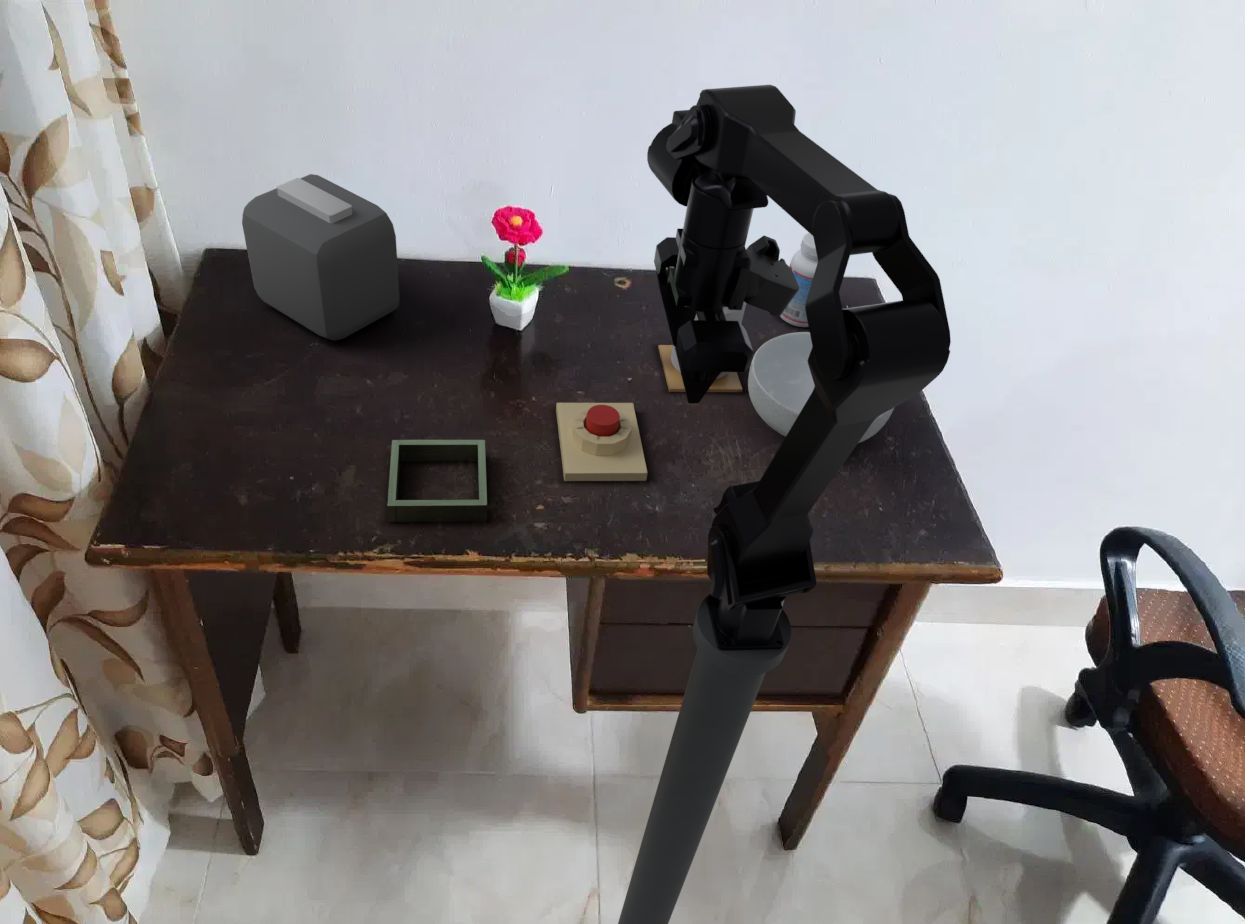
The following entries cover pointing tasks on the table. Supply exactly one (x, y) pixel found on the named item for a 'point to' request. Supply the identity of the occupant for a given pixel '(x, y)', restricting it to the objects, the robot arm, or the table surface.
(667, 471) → the table surface
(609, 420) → the stop button
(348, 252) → the alarm clock
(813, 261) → the pill bottle
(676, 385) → the cork coaster
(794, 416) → the cereal bowl
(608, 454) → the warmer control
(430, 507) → the grey-green square frame
